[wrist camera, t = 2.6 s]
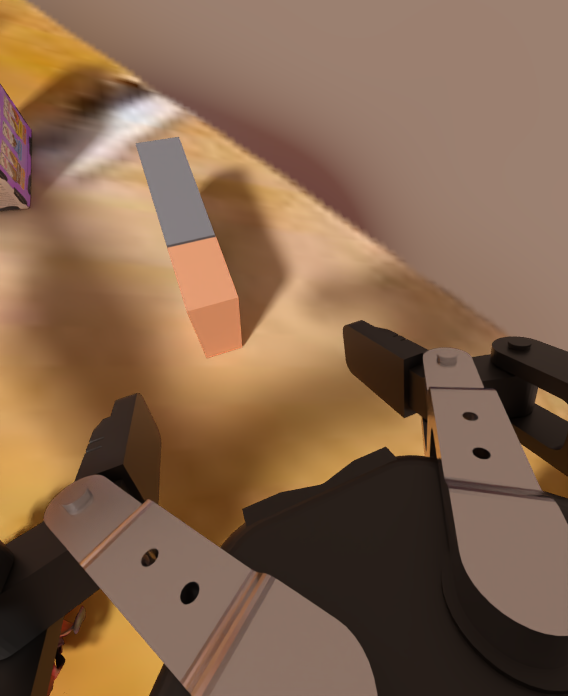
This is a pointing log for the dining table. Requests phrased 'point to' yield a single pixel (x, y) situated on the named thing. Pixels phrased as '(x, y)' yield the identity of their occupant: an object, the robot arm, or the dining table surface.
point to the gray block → (174, 192)
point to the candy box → (14, 156)
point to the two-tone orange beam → (208, 295)
